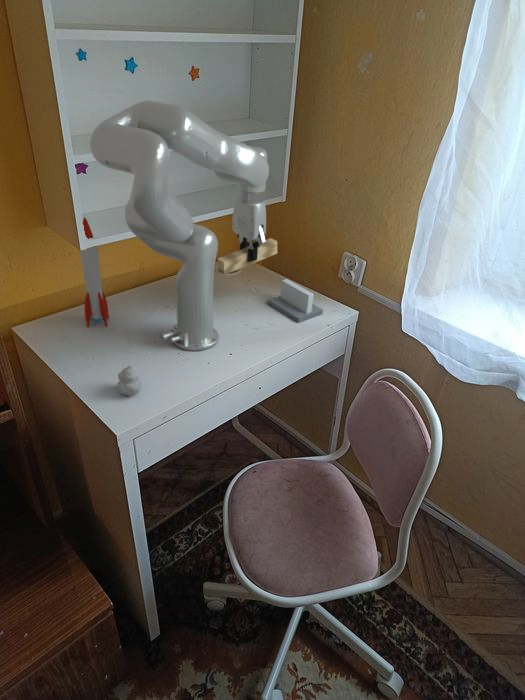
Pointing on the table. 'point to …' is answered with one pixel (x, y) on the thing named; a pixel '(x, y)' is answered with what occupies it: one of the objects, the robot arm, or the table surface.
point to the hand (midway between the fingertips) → (248, 258)
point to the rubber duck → (128, 381)
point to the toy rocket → (93, 283)
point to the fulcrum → (295, 302)
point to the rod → (245, 257)
